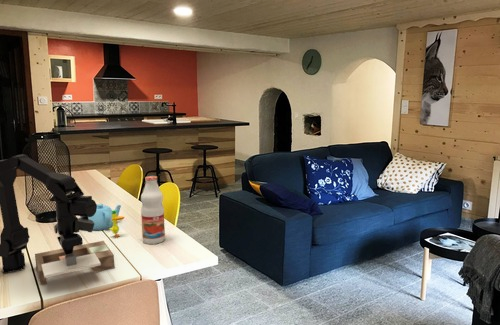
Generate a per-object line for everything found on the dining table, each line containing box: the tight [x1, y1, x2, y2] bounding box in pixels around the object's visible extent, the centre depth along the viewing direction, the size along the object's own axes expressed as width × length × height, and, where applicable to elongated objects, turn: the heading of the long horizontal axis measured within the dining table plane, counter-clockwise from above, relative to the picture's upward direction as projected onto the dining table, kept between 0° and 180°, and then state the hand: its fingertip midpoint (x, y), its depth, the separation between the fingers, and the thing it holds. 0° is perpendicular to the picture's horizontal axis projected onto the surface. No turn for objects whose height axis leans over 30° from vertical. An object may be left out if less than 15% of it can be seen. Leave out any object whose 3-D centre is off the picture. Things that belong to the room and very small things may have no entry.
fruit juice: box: [140, 175, 166, 245], centre depth 166 cm, size 9×9×28 cm
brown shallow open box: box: [34, 240, 116, 286], centre depth 142 cm, size 24×16×5 cm, turn 123°
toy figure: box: [109, 209, 125, 238], centre depth 171 cm, size 7×4×12 cm, turn 118°
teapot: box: [79, 203, 122, 231], centre depth 184 cm, size 15×15×11 cm
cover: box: [41, 253, 101, 278], centre depth 131 cm, size 17×10×4 cm, turn 123°
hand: (69, 257), depth 134 cm, fingers closed
